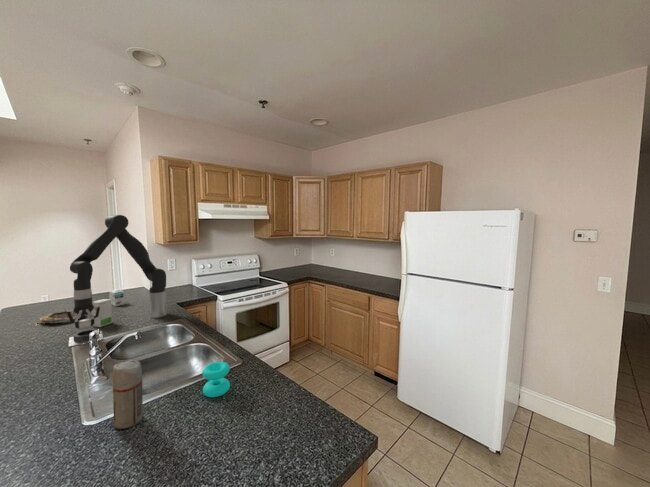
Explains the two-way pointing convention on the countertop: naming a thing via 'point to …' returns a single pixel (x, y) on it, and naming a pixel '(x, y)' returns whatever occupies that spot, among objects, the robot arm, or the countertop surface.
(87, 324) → the cap
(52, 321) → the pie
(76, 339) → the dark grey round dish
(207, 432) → the countertop surface
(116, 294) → the light bulb box
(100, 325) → the skincare box
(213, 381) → the teal spool
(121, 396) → the brown cylinder
